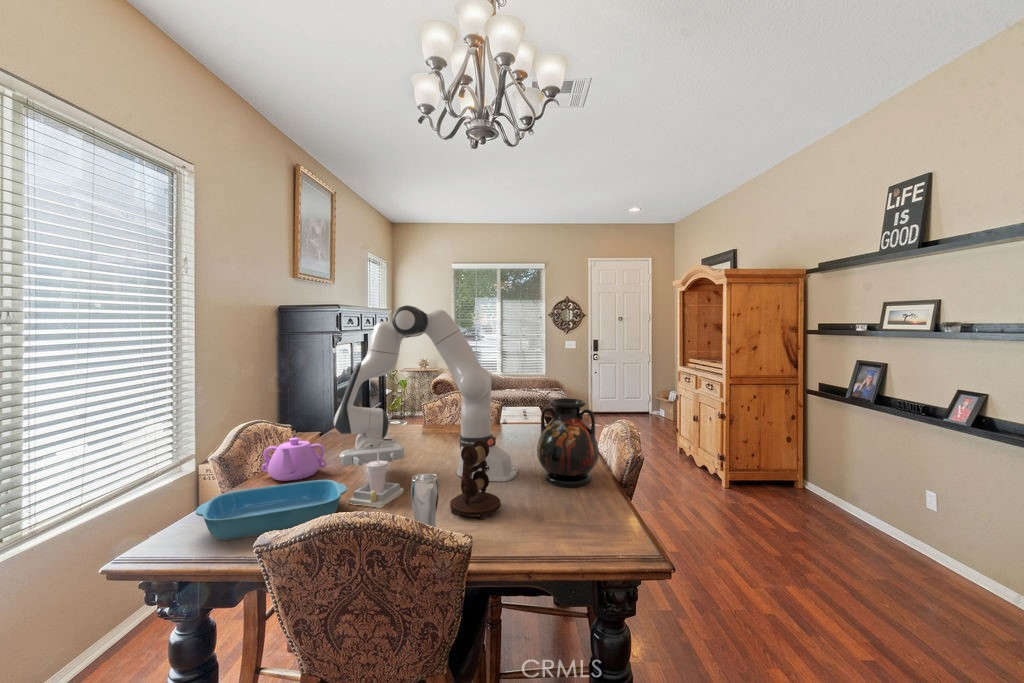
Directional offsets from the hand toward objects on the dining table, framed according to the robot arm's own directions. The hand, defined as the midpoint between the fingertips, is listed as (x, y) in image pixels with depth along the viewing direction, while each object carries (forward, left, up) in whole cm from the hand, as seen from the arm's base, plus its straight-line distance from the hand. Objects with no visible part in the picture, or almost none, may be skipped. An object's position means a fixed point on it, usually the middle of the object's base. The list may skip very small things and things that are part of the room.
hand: (375, 461), depth 140 cm
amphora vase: (-57, -30, -11) cm, 66 cm away
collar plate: (-2, +3, -11) cm, 11 cm away
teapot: (+38, -6, -11) cm, 40 cm away
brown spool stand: (-35, +3, -11) cm, 37 cm away
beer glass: (-28, +21, -11) cm, 37 cm away
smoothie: (-2, +2, -10) cm, 10 cm away
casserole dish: (+16, +24, -11) cm, 31 cm away
